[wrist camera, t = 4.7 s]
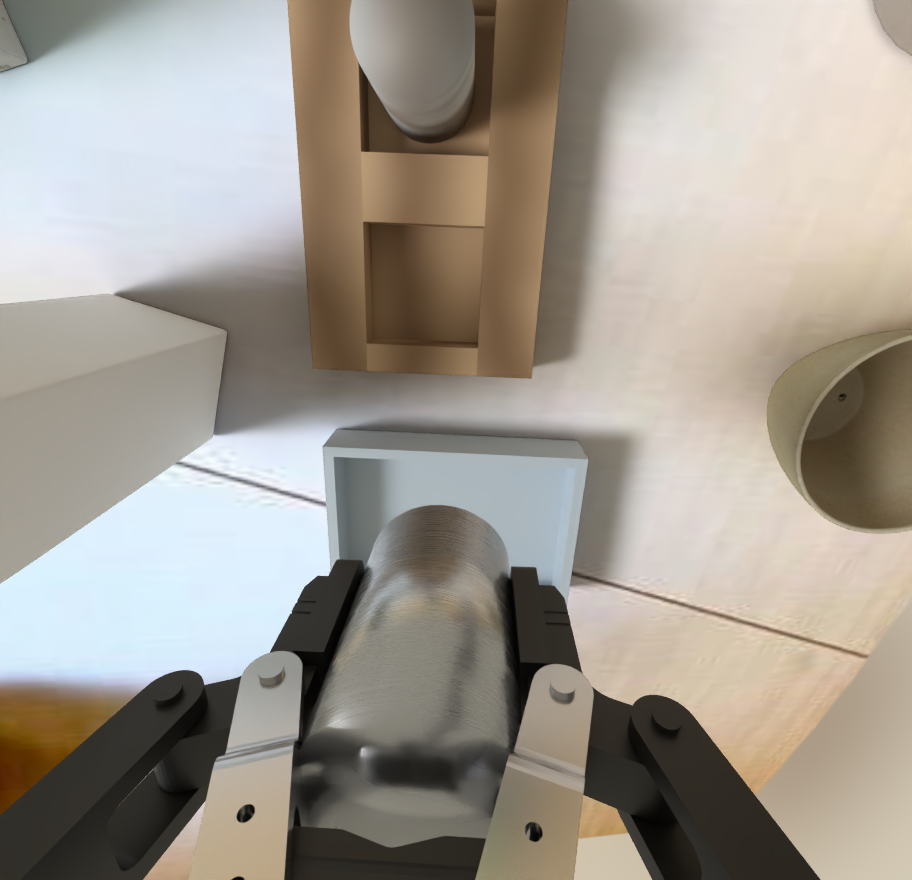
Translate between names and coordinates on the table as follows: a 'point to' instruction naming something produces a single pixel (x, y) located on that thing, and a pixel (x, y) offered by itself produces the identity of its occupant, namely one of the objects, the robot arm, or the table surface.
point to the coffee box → (9, 43)
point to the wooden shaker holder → (425, 179)
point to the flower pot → (849, 431)
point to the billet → (419, 687)
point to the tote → (459, 491)
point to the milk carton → (94, 410)
